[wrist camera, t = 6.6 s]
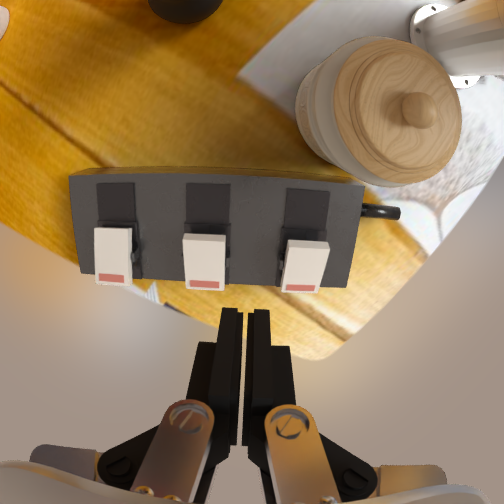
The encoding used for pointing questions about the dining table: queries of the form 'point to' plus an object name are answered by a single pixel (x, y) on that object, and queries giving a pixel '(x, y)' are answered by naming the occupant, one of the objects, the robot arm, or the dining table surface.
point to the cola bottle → (184, 9)
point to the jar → (380, 112)
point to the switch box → (221, 217)
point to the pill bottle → (3, 20)
